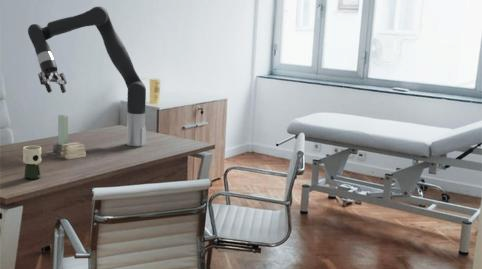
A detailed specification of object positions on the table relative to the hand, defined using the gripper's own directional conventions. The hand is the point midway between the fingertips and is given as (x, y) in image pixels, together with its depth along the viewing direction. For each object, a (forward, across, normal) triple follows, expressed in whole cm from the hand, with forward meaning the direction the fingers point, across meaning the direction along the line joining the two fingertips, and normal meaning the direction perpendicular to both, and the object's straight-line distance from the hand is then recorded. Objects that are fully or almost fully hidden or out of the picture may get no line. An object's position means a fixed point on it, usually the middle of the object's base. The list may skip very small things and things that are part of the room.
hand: (57, 92), depth 285 cm
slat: (+29, -3, +6) cm, 30 cm away
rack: (+32, -3, +4) cm, 32 cm away
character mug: (+44, -36, -8) cm, 58 cm away
